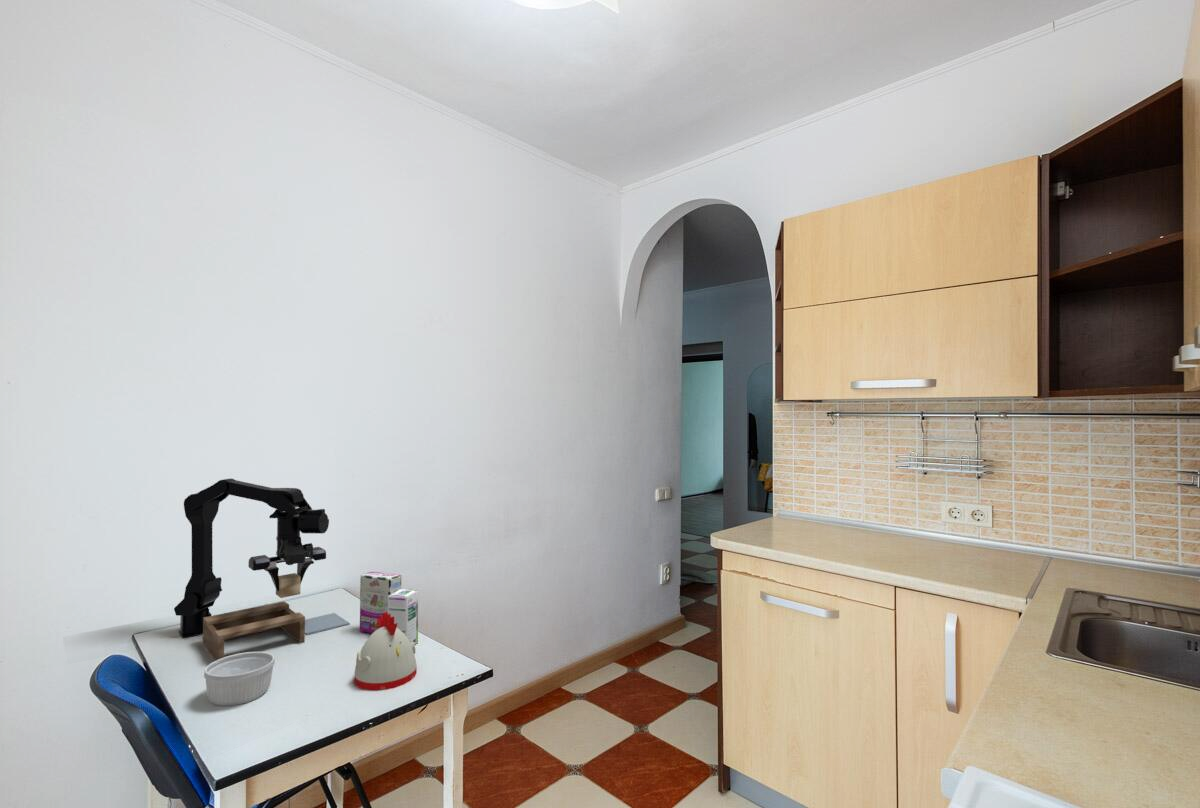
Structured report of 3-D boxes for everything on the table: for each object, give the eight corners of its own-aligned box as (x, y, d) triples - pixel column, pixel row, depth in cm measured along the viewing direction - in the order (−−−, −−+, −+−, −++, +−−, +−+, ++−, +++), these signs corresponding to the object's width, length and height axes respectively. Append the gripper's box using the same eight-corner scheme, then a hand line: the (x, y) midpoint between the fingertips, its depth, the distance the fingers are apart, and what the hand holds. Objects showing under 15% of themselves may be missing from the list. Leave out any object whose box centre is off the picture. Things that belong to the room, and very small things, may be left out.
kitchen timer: (370, 696, 126) (372, 628, 126) (344, 677, 135) (345, 613, 135) (427, 676, 136) (428, 612, 136) (398, 659, 145) (399, 600, 146)
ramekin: (258, 675, 135) (258, 646, 136) (285, 691, 128) (285, 660, 128) (193, 697, 125) (194, 665, 125) (219, 716, 117) (219, 682, 117)
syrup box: (407, 651, 150) (407, 596, 150) (386, 649, 151) (387, 594, 151) (418, 643, 155) (418, 589, 156) (398, 641, 156) (399, 588, 157)
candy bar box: (401, 632, 163) (402, 574, 164) (389, 638, 159) (390, 579, 159) (371, 626, 167) (372, 570, 168) (358, 632, 163) (359, 574, 163)
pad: (306, 635, 160) (306, 633, 160) (292, 624, 169) (292, 622, 169) (349, 624, 169) (349, 622, 169) (334, 614, 177) (334, 612, 177)
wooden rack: (218, 664, 141) (218, 636, 141) (202, 643, 154) (203, 617, 154) (304, 642, 155) (305, 616, 155) (283, 624, 168) (284, 601, 168)
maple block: (280, 598, 158) (281, 580, 158) (275, 594, 161) (275, 576, 161) (300, 594, 161) (300, 576, 161) (294, 590, 165) (295, 573, 165)
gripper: (258, 542, 149) (258, 602, 149) (333, 532, 162) (332, 587, 162) (248, 536, 157) (247, 593, 157) (319, 527, 170) (319, 579, 170)
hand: (288, 588), depth 161 cm, fingers closed on maple block, 5 cm apart
